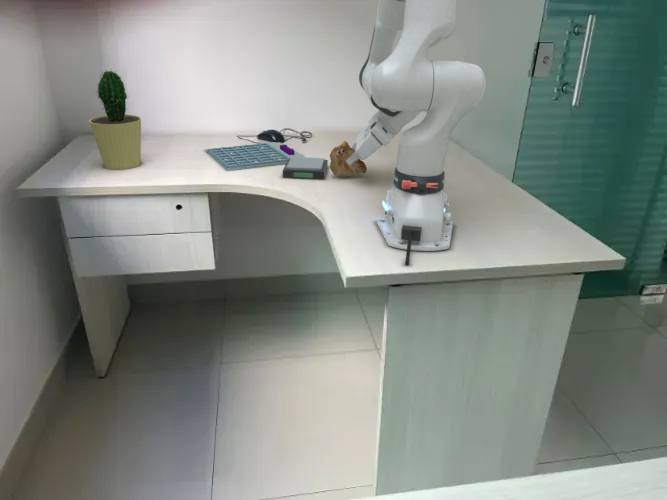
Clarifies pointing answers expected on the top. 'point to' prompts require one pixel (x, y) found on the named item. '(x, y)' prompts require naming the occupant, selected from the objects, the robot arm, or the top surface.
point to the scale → (305, 168)
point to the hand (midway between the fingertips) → (348, 157)
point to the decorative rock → (340, 164)
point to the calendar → (253, 155)
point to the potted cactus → (116, 126)
